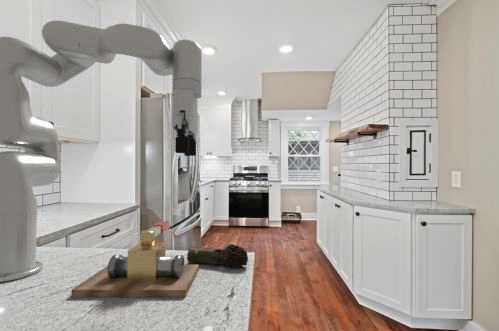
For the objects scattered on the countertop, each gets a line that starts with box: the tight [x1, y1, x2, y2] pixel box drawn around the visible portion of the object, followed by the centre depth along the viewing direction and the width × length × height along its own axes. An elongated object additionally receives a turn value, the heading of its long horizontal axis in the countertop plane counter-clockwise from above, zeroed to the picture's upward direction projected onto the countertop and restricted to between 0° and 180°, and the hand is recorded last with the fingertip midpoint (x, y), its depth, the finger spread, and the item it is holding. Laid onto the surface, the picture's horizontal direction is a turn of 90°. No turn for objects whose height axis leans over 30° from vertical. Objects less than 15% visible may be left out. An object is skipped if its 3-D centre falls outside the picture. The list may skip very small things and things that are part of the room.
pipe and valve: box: [107, 241, 185, 282], centre depth 62 cm, size 16×7×7 cm, turn 90°
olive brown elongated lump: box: [186, 243, 249, 270], centre depth 75 cm, size 18×7×6 cm, turn 73°
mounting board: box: [70, 264, 200, 298], centre depth 62 cm, size 24×15×2 cm, turn 90°
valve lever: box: [140, 221, 169, 247], centre depth 67 cm, size 14×3×3 cm, turn 0°
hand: (186, 154), depth 68 cm, fingers open, 9 cm apart
